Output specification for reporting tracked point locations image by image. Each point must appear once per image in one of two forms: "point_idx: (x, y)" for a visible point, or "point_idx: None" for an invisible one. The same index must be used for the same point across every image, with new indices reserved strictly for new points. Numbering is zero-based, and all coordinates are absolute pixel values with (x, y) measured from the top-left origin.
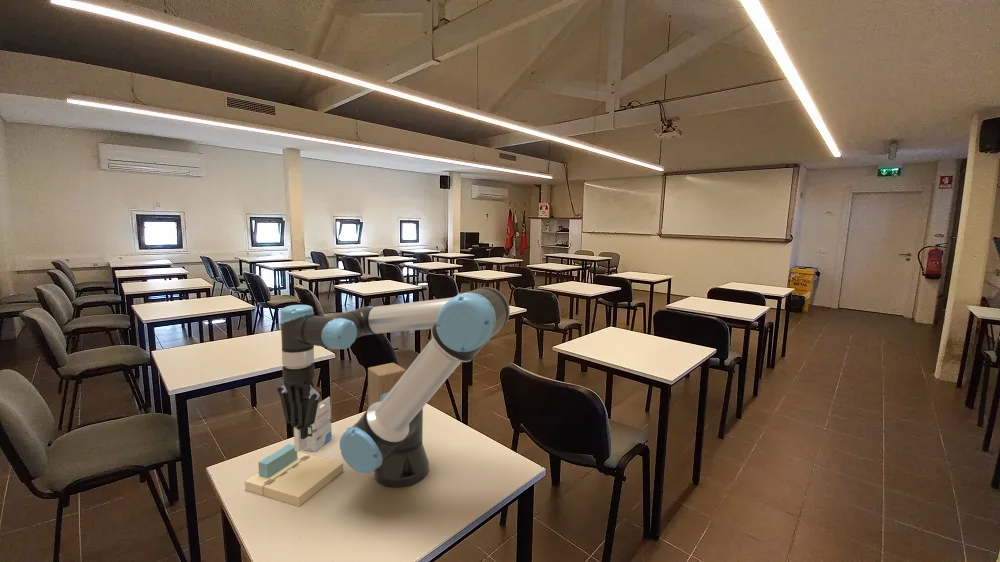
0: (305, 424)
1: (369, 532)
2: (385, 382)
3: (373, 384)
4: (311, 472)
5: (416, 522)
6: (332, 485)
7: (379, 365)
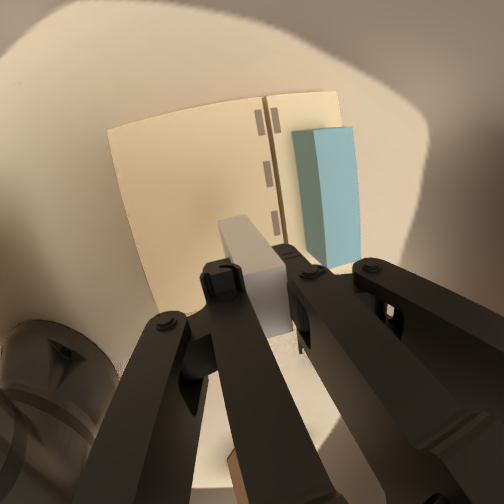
0: (165, 326)
1: None
2: None
3: None
4: (195, 232)
5: None
6: (123, 247)
7: None
